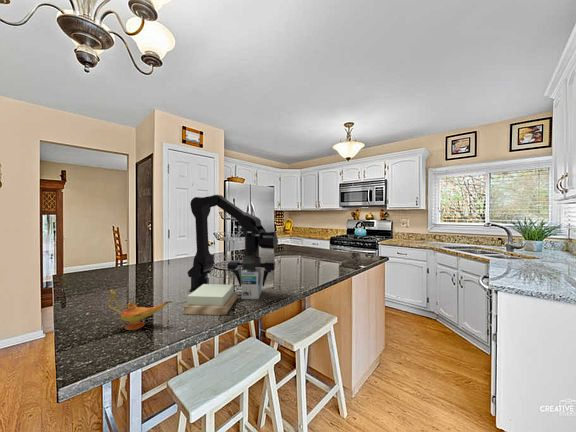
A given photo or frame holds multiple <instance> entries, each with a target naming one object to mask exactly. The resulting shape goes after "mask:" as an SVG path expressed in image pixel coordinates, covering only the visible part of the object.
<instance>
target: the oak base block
mask: <svg viewBox="0 0 576 432" xmlns="http://www.w3.org/2000/svg"><path fill="white" fill-rule="evenodd" d="M237 299H238V291H234V293H233V294H232V295H231V296H230V298H229V299H228V300H227V301H226V302H225V304H224V305H223V306H206V305H188V303H186V304H185V305H184V306H183V314H184V315H213V316H215V315H216V316H226V315H228V312H229V311H230V309H231V308H232V307H233V306H234V304H235V303H236V301H237Z"/></svg>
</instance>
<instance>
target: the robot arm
mask: <svg viewBox="0 0 576 432" xmlns="http://www.w3.org/2000/svg"><path fill="white" fill-rule="evenodd" d="M216 206H217V207H218V208H220V209H221V210H222V211H224V212H226V214H228V215H230V216H231V217H233V218H234V219H235V220H236V221H237V222H238V224H239V226H240V227H241V228H242V229H243V232H242V233H240V235H239V237H241V238H244V255H243V258H242V261H241V260H236V259H235V260H234V259H233V260H230V261H229V262H228V263H227V265H226V266H227V268H226V269H227V270H228V271H230V272H231V273H234V274H235V276H236V279H237V282H238V284H239V287H242V271H243V270H255V267H256V268H261V269H263V268H264V270H263V274H262V275H263V278H262V288H263V287H265V284H266V281H267V277H268V274H269V273H272V271H275V269H276V267H277V266H276V264H277V263H276V261H275V260H265V262H262V261H261V260H262V259H261V256H260V248H261V249H266V250H267V249H268V250H277V249H278V246H279V245H278V244H279V239H278V238H279V237H278V236H277V231H266V229H265V228H264V226H263V225H262V220H261V219H260V218H259V217H257V216H255V215H253V214H251V213H248V212H245V211H243V210H242V209H241V208H239V206H236V205H235V204H233V202H231V201H230V200H228V199H226V198H225V197H224V196H223V195H221V194H214V195H210V196H201V197H199V196H195V197H193V198H191V200H190V211H191V213H192V215H193V217H194V219H195V238H196V239H195V240H196V242H195V243H196V252H195V254H194V255H195V256H194V258H193V264H192V267H191V268H190V269H188V271H187V276H188V277H189V278H190V289H189V292H194V291H195V290H196V289H198V288H199V287H200V286H202V285H203V284H210V279H209V277H208V276H209V275H208V274H210V273H211V270H212V268H214V264H215V254H211V252H210V249H209V246H210V245H209V228H208V226H209V225H208V224H209V223H208V217H209V215H210V213H211V208H212V207H213V208H214V207H216Z"/></svg>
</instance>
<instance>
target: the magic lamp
mask: <svg viewBox="0 0 576 432" xmlns="http://www.w3.org/2000/svg"><path fill="white" fill-rule="evenodd" d="M116 294H117V293H116V291H115V290H113V289H110V293H109V296H110V298H109V299H108V302H106V303H107V307H108V308H109V309H111V310H113V311H114V312H117V313H118V314H120V317H119V318H118V317H116V319H117V320H120V319H121V320H122V321H124V322H129V323H128V324H126V325H125V327H124V329H125V330H128V331H131V330H138V329H140V328H142V327H143V326H145V322H143V321H141V320H143V319H145V318H148V317H150V316H152V315H154V314H155V313H157V312H158V311H160V310H162V308H164V307H165V306H166V305H168V304H170V303H173V301H172V300H169V301H165V302H162V303H160V304H157V305H156V306H151V307H146V306H145V307H144V306H137V305H136V304H134V303H133V300H132V301H129V304H128V305H126V306H123V307H121V306H120V304H118V301H117V299H116ZM111 300H114V302H115V303H114V304H115V305H116V306H117V307H118V308H119V309H121V310H123V311H120V310H118V309H116V308H113V307H111V306H110V302H111ZM124 309H125V310H124Z"/></svg>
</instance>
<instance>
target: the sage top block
mask: <svg viewBox="0 0 576 432" xmlns="http://www.w3.org/2000/svg"><path fill="white" fill-rule="evenodd" d="M234 289H235V285H234V284H221V283H220V284H219V283H217V284H215V283H214V284H213V283H212V284H211V283H209V284H203V285H202V286H200V287H199V288H198V289H196V290H195V291H191V292H190V293H189V294H188V295H187V304H188V305H206V306H223V305H224V304H225V302H226V301H227V300H228V299H229V298H230V296H231V295H232V294H233V293H234V292H235V291H234Z"/></svg>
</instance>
